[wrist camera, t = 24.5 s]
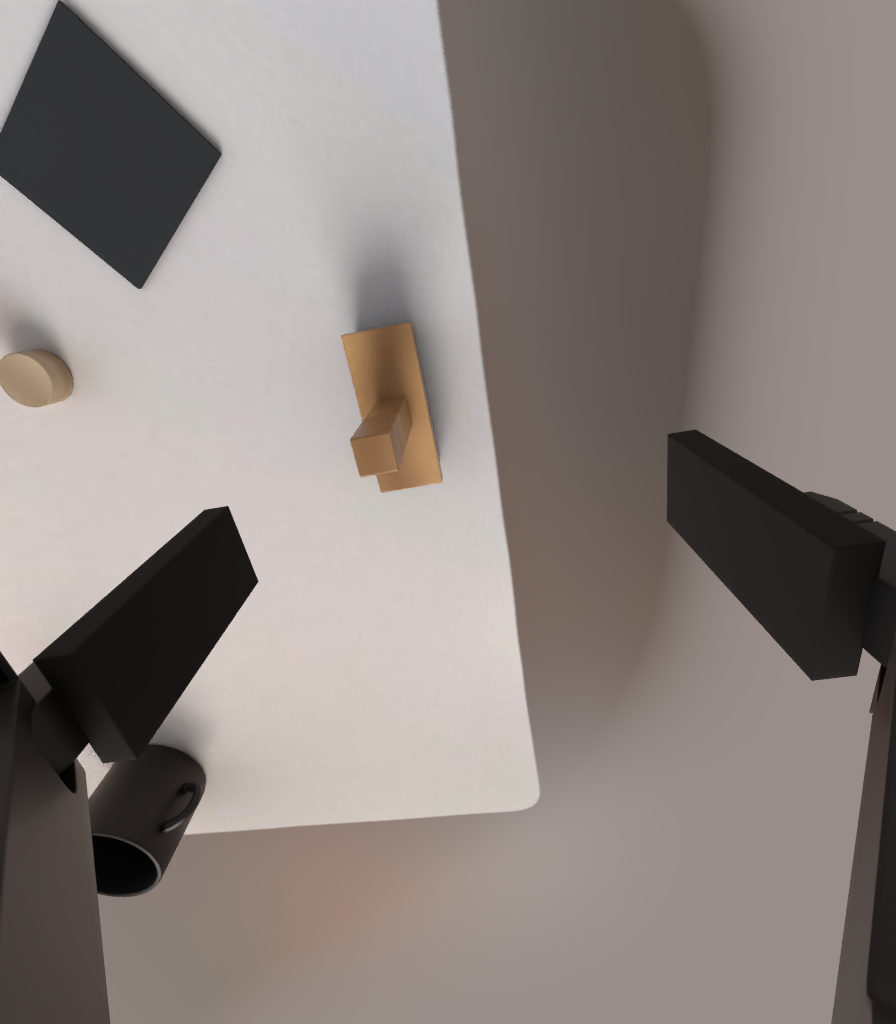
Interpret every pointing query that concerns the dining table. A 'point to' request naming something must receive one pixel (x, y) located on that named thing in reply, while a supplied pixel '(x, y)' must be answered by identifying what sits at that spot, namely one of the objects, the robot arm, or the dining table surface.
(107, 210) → the mat
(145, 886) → the mug
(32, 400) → the disc
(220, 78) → the dining table surface
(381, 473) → the wooden t-shaped block
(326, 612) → the dining table surface
